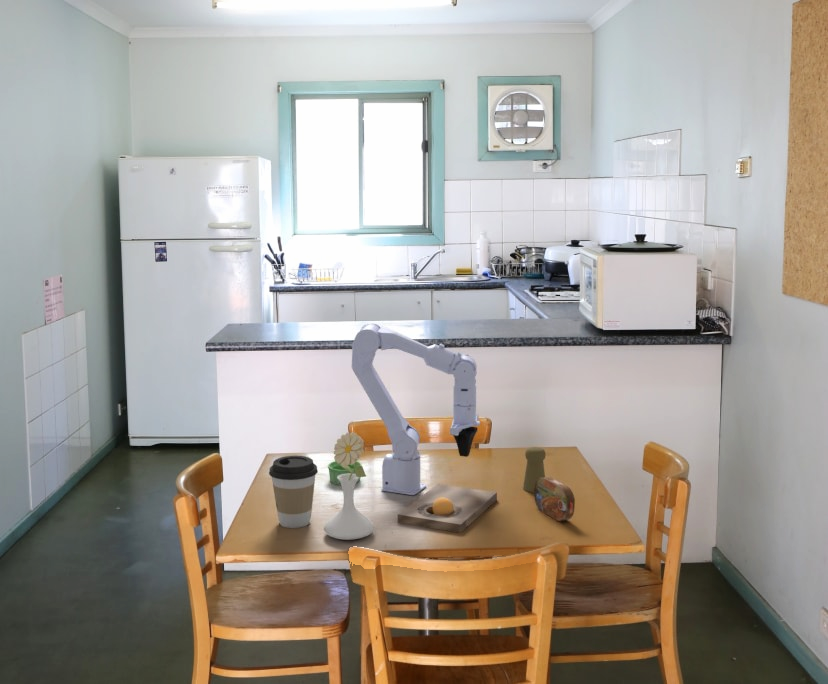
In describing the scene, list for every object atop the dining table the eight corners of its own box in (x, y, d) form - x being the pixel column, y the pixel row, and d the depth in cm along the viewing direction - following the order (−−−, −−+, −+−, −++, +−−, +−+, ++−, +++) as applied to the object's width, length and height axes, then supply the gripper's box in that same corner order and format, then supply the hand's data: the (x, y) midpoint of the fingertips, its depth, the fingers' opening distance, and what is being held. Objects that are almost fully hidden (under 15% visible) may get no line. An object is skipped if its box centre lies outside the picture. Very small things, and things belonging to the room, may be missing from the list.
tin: (532, 505, 245) (533, 473, 243) (543, 504, 246) (544, 471, 244) (565, 526, 231) (565, 491, 230) (576, 524, 232) (577, 490, 231)
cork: (545, 493, 253) (546, 451, 251) (521, 491, 255) (522, 450, 253) (547, 485, 259) (548, 445, 257) (524, 484, 260) (524, 443, 258)
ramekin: (365, 476, 268) (365, 460, 267) (357, 487, 259) (357, 470, 258) (333, 474, 269) (332, 458, 269) (324, 485, 261) (324, 469, 260)
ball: (434, 491, 237) (436, 504, 240) (429, 507, 233) (430, 521, 237) (455, 495, 235) (456, 508, 239) (449, 511, 232) (451, 524, 235)
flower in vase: (316, 531, 228) (313, 426, 224) (360, 522, 234) (359, 419, 229) (340, 550, 217) (338, 440, 213) (386, 540, 223) (385, 433, 218)
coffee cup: (274, 513, 240) (273, 453, 237) (321, 514, 239) (320, 454, 237) (266, 531, 229) (264, 468, 226) (315, 531, 228) (314, 469, 225)
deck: (397, 522, 234) (397, 514, 234) (438, 491, 255) (438, 483, 255) (460, 532, 227) (460, 524, 227) (496, 499, 249) (496, 492, 248)
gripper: (468, 412, 243) (468, 465, 246) (489, 399, 256) (489, 449, 259) (442, 409, 246) (442, 462, 249) (464, 396, 259) (463, 446, 261)
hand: (464, 455), depth 254 cm, fingers closed
